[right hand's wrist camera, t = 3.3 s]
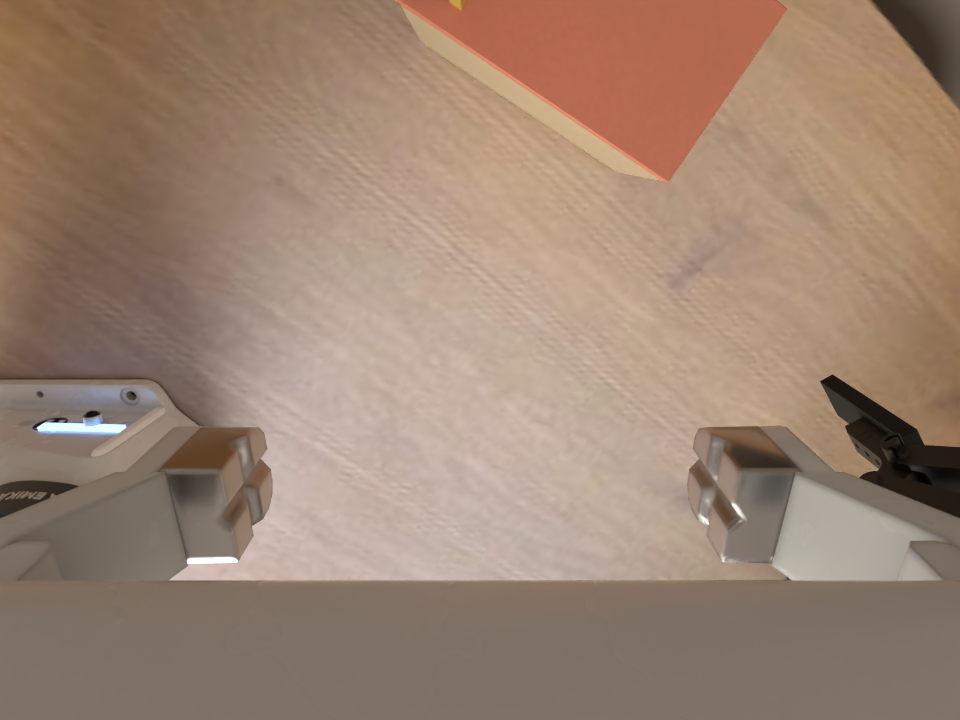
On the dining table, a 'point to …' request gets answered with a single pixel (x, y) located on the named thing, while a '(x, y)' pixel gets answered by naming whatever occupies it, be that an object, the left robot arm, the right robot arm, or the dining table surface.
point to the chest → (523, 98)
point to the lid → (617, 61)
